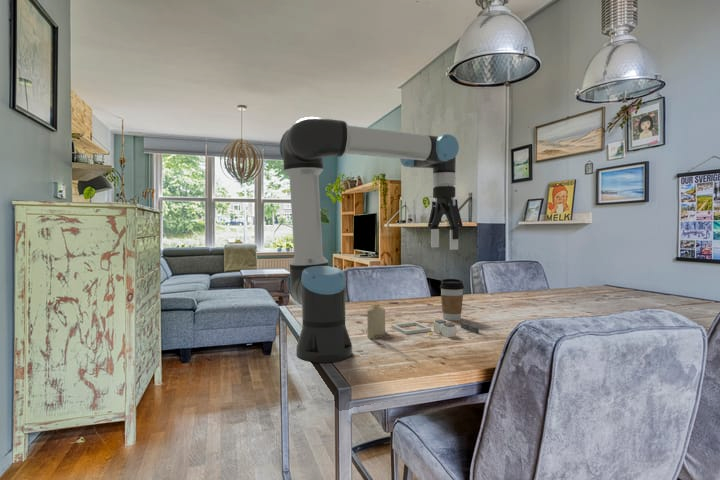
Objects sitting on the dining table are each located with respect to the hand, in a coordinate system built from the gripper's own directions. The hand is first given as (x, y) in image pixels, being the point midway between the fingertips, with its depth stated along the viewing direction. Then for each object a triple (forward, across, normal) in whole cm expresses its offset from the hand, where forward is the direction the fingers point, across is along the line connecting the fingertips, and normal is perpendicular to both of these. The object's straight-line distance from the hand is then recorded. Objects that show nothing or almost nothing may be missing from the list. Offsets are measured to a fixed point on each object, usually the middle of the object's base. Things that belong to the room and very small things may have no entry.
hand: (444, 248), depth 140 cm
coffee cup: (+27, +2, -4) cm, 27 cm away
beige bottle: (+27, -7, +27) cm, 39 cm away
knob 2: (+25, -17, +7) cm, 31 cm away
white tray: (+26, -10, +9) cm, 30 cm away
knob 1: (+25, -13, +8) cm, 29 cm away
